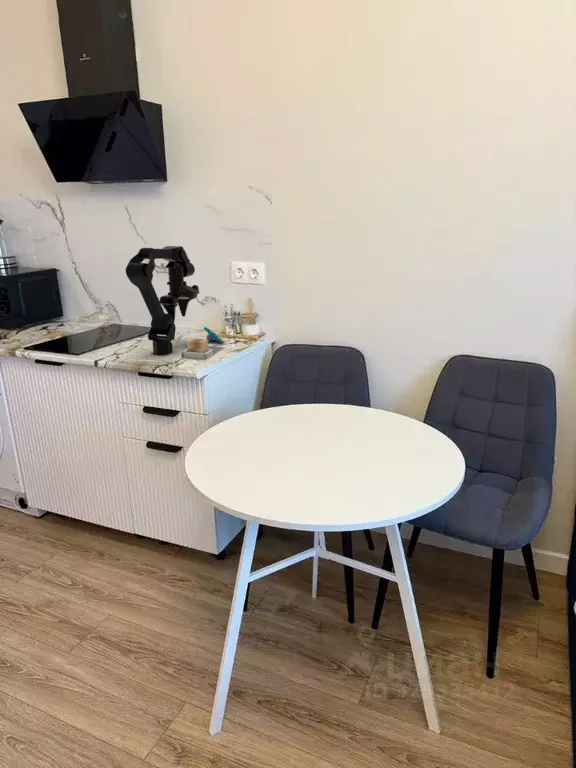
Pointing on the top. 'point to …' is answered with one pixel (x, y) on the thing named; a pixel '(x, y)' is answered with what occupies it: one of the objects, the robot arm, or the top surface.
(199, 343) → the cardboard box
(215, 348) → the gray plate
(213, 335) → the gear
